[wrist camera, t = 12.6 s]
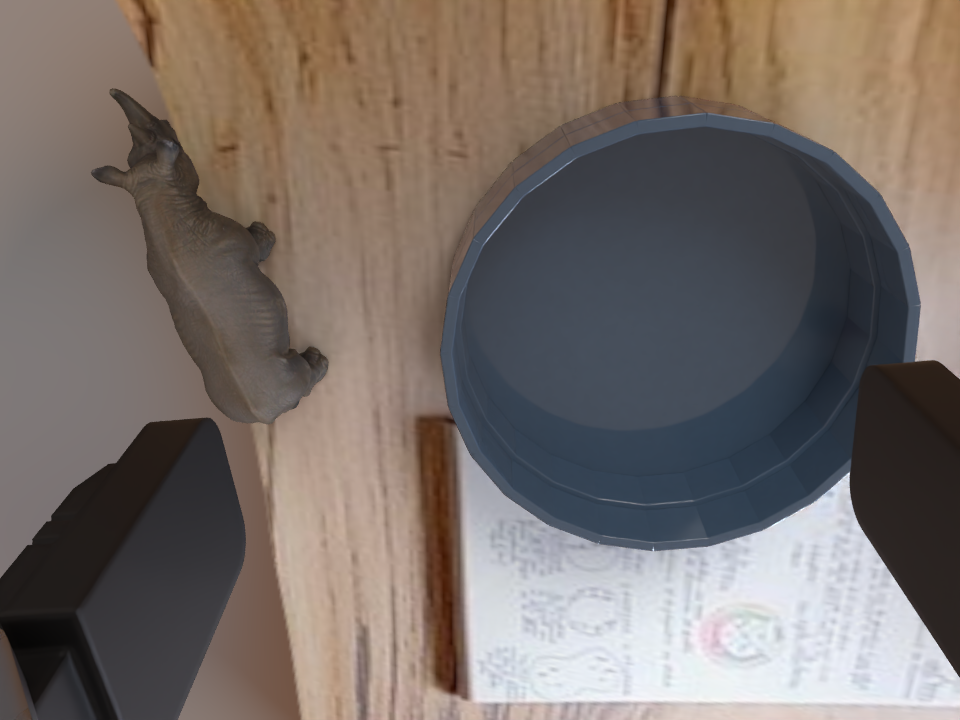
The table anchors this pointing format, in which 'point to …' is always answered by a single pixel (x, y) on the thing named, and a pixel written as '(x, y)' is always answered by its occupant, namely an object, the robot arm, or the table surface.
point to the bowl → (672, 323)
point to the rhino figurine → (213, 279)
